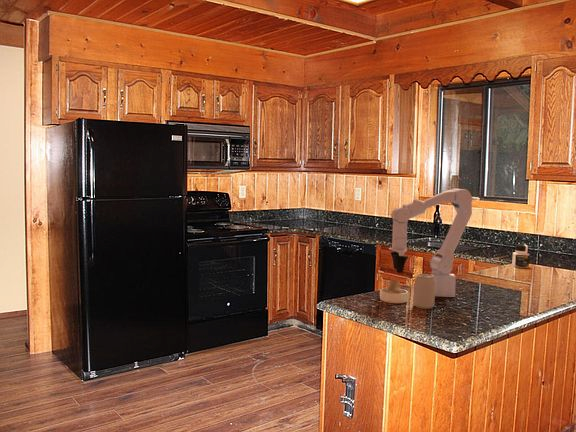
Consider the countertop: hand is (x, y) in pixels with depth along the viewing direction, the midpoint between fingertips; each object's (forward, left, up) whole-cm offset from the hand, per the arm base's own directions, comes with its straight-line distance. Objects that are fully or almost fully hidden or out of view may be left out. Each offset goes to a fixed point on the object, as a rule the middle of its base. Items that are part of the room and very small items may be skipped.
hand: (398, 270), depth 222 cm
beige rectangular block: (+3, +9, -9) cm, 13 cm away
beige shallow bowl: (+3, +9, -10) cm, 14 cm away
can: (-7, +18, -10) cm, 22 cm away
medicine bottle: (-75, -78, -10) cm, 109 cm away
